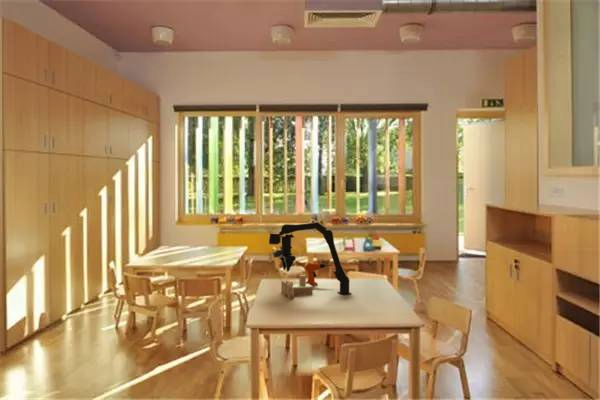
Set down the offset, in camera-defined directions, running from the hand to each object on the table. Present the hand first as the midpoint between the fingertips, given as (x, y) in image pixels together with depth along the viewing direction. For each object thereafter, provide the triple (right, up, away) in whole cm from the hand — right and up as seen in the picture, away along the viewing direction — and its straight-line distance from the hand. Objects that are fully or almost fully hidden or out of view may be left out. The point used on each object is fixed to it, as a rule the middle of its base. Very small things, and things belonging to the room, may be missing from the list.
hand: (286, 270), depth 302 cm
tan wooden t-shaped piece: (+8, -13, -7) cm, 17 cm away
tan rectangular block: (+2, -8, -6) cm, 11 cm away
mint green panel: (+8, -9, -3) cm, 13 cm away
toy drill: (+20, -13, +22) cm, 33 cm away
